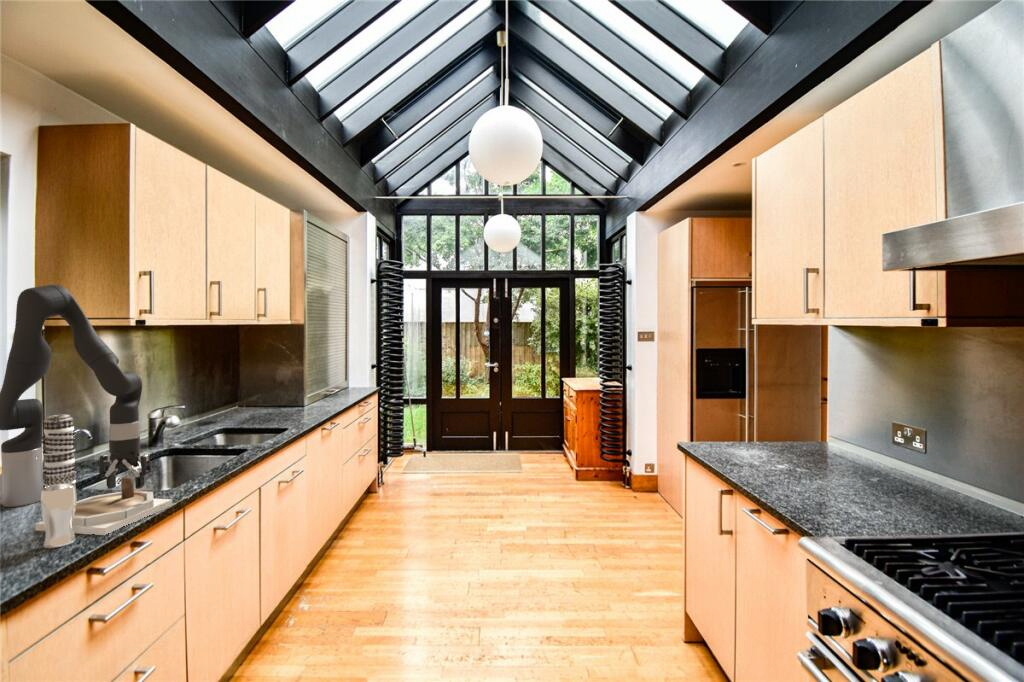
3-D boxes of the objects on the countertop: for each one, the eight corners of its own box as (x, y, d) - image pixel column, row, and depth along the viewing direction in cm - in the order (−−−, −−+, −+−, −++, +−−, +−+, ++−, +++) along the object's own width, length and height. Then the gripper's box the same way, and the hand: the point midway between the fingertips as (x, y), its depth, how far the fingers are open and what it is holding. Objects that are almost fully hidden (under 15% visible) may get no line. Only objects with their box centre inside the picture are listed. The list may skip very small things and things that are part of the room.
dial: (106, 522, 134) (106, 495, 134) (52, 519, 136) (52, 493, 136) (158, 500, 151) (157, 477, 151) (109, 498, 153) (108, 475, 152)
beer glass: (57, 537, 129) (55, 482, 129) (84, 537, 130) (83, 482, 130) (33, 549, 122) (32, 491, 122) (63, 548, 123) (61, 490, 123)
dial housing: (35, 530, 134) (35, 515, 134) (111, 502, 156) (111, 488, 156) (104, 535, 131) (104, 519, 131) (172, 505, 153) (171, 492, 153)
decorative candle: (84, 480, 177) (83, 413, 177) (57, 489, 168) (56, 418, 167) (63, 479, 179) (61, 412, 178) (35, 487, 169) (33, 417, 169)
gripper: (91, 439, 146) (92, 492, 146) (138, 439, 146) (139, 492, 146) (111, 433, 153) (112, 484, 154) (156, 433, 153) (157, 484, 154)
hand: (125, 488), depth 150 cm, fingers open, 8 cm apart
